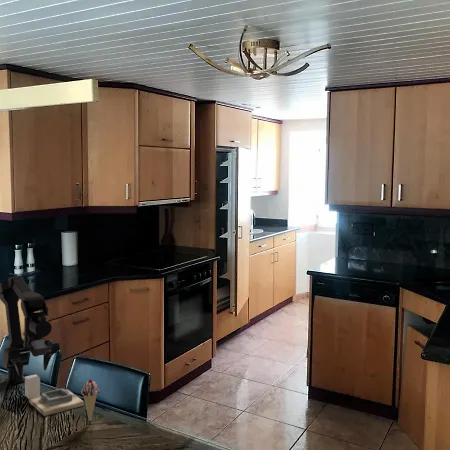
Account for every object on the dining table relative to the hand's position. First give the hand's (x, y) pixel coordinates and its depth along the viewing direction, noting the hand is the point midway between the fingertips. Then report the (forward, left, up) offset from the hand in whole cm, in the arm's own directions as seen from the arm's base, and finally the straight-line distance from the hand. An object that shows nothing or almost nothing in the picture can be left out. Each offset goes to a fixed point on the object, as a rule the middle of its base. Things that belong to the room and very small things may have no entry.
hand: (32, 372), depth 183 cm
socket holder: (+12, +4, -9) cm, 15 cm away
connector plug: (0, 0, -9) cm, 9 cm away
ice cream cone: (+34, +6, -9) cm, 36 cm away
